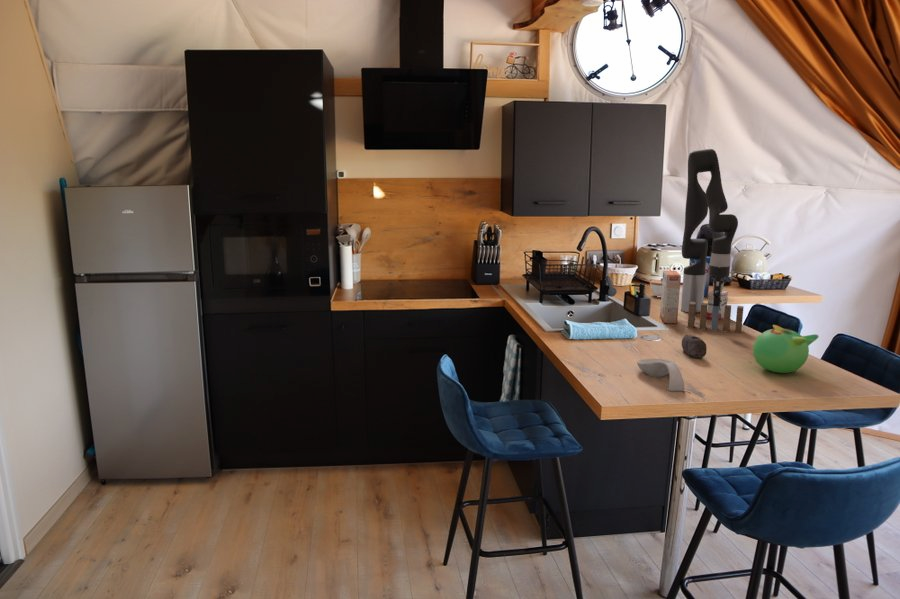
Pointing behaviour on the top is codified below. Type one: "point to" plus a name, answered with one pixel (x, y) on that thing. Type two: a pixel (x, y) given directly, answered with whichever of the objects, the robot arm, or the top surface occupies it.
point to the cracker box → (670, 296)
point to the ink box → (721, 304)
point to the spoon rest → (663, 371)
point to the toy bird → (782, 349)
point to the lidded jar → (656, 287)
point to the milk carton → (707, 276)
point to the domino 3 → (715, 318)
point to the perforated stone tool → (694, 346)
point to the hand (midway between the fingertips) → (716, 304)
